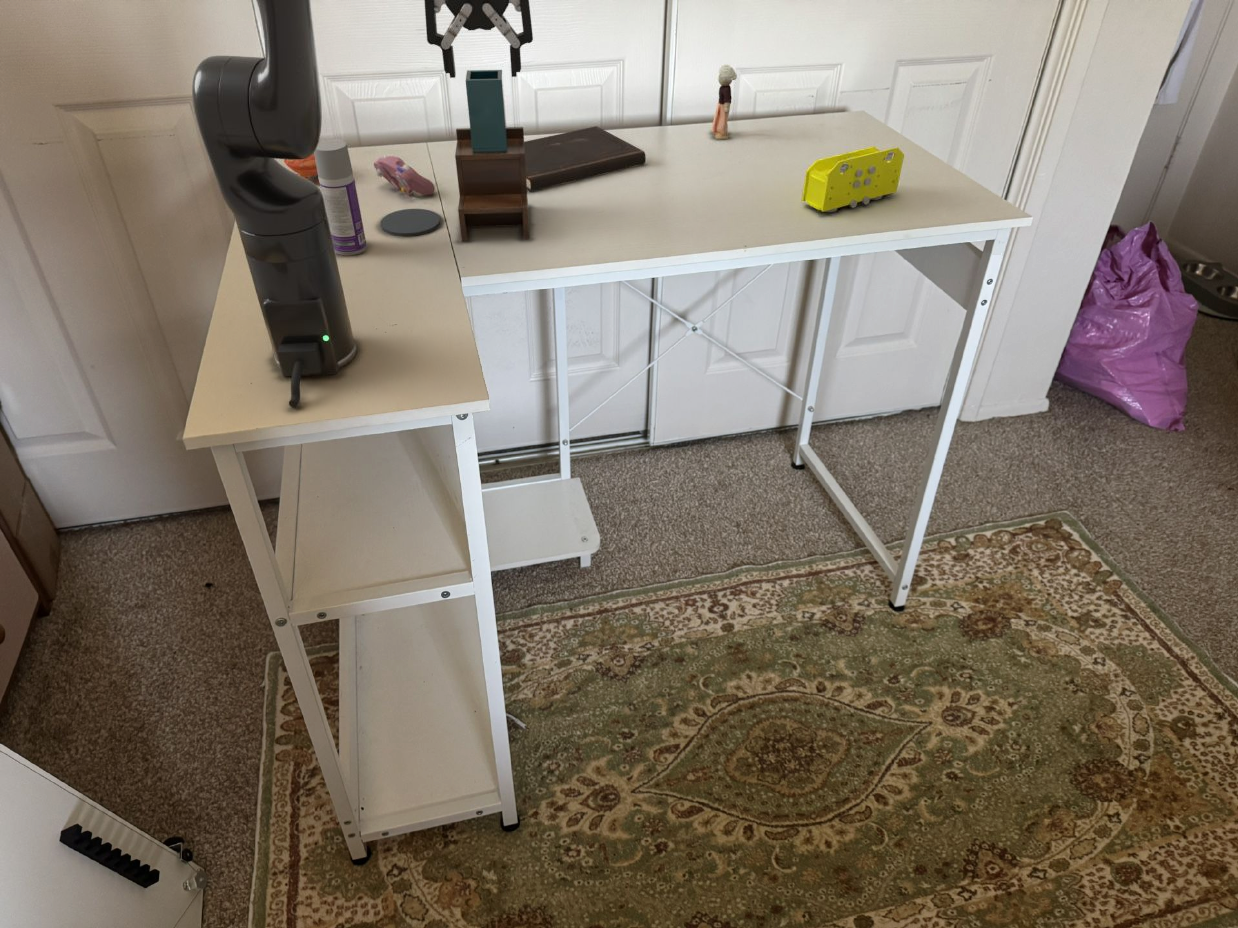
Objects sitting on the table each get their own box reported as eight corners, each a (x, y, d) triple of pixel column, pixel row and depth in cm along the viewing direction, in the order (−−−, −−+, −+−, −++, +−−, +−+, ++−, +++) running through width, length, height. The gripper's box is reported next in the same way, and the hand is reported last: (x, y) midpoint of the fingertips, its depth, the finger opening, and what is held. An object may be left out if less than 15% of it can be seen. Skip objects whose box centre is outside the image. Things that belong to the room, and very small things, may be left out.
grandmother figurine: (706, 130, 167) (711, 60, 159) (725, 129, 167) (731, 59, 159) (716, 144, 161) (722, 72, 153) (736, 143, 161) (743, 71, 153)
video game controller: (386, 192, 146) (363, 160, 140) (404, 174, 147) (382, 141, 141) (420, 210, 140) (398, 177, 135) (439, 190, 141) (418, 157, 136)
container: (353, 238, 129) (333, 136, 119) (373, 247, 126) (354, 144, 117) (327, 249, 126) (304, 145, 116) (347, 258, 123) (325, 153, 114)
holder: (507, 152, 126) (501, 80, 120) (472, 153, 126) (465, 80, 119) (507, 140, 130) (502, 69, 124) (473, 141, 129) (466, 70, 123)
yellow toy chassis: (823, 218, 136) (832, 165, 130) (799, 205, 139) (807, 153, 134) (897, 197, 142) (908, 146, 137) (872, 186, 146) (882, 135, 141)
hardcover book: (486, 162, 153) (485, 149, 151) (596, 138, 163) (596, 126, 161) (531, 193, 142) (530, 179, 141) (645, 165, 152) (646, 152, 151)
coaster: (438, 235, 130) (438, 232, 129) (377, 237, 129) (377, 234, 129) (442, 210, 137) (441, 207, 136) (384, 212, 136) (383, 209, 136)
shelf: (529, 239, 129) (524, 155, 121) (461, 241, 128) (452, 157, 120) (528, 206, 138) (523, 127, 130) (464, 208, 137) (456, 128, 129)
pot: (336, 163, 151) (330, 128, 145) (339, 190, 146) (332, 155, 141) (287, 166, 149) (279, 130, 144) (289, 193, 144) (281, 157, 139)
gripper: (413, -52, 108) (430, 85, 118) (528, -53, 109) (535, 83, 119) (418, -62, 113) (434, 69, 124) (527, -63, 115) (534, 67, 125)
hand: (483, 76), depth 121 cm, fingers open, 8 cm apart
